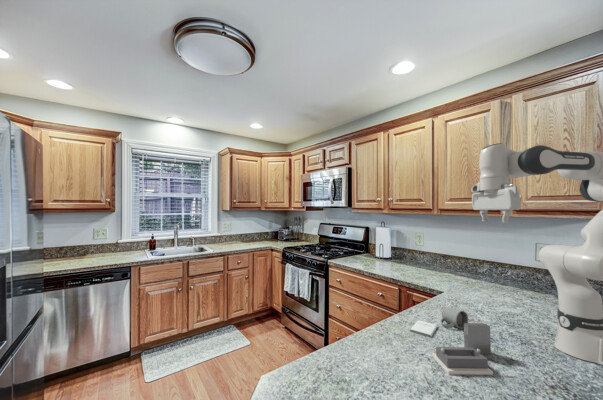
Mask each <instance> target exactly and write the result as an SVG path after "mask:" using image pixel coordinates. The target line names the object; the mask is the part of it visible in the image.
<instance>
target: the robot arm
mask: <svg viewBox="0 0 603 400" xmlns="http://www.w3.org/2000/svg"><path fill="white" fill-rule="evenodd" d="M478 163H479V166H478V168H479V171H480V175H479V182H477V183H476V184H475V185H473V186H472V187H471V193H472V194H471V206H472V209H473V210H474V211H479V214H480V216H481V221H482V222H483V223H489V222H490V217H489V216H488V211H501V213H502V214H503V215H502V217H500V223H501V224H502V223H503V224H506V223H507V224H508V223H509V219H510V216H511V215H512V211H519V210H520V209H521V207H522V203H521V201H522V200H521V195H520V192H519V190H518V186H517V185H516V184H514V183H509V179H518V178H519V179H520V178H525V177H531V176H537V175H538V176H539V175H546V174H549V173H552V172H553V171H557V173H558V175H559V176H560V177H561V178H564V179H566V180H573V181H581V182H580V183H579V193H580V195H581V197H583V199H584V200H586V201H590V202H595V203H596V202H597V203H601V202H603V151H595V150H594V151H593V150H581V151H566V150H565V151H563V150H557V149H554V148H552V147H550V146H546V145H542V144H540V145H539V144H538V145H534V146H531V147H529V148H527V149H526V148H525V149H524V150H520V151H515V150H512V149H511V148H510V147H508V146H507V145H506V143H503V142H499V143H498V142H497V143H494V144H491V145H490V144H489V145H487V146H484V147H483V148H482V149H481V151H480V153H479V162H478ZM580 236H581V238H582V239H583V241H584V243H583V244H581V245H579V246H575V245H567V244H562V243H561V244H549V245H544V246H543V247H541V249H540V250H539V252H538V258H539V261H540V263H541V265H543V266H544V267H545V268H546V269H547V270H548V272H549V273H550V275H551V277H552V279H553V281H554V283H555V286H556V290H557V299H558V308H557V311H556V316H557V319H558V321H557V326H556V336H555V337H554V347H555V348H556V349H557V350H559V351H560V352H562V353H564V354H567V355H568V356H571V357H574V358H576V359H580V360H583V361H586V362H591V363H595V364H599V365H601V366H603V299H602V296H601V294H600V292H598V291H597V290H596V289H595V288H594V287H592V285H591V284H590V283H589V281H588V279H589V280H592V281H601V282H603V209H601V210H600V211H598V213H596V214H595V215H594V217H593V218H591V219H590V220H589V222H588V223H586V224H585V226H583V228H581V231H580Z"/></svg>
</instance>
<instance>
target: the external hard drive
mask: <svg viewBox="0 0 603 400" xmlns="http://www.w3.org/2000/svg"><path fill="white" fill-rule="evenodd" d="M437 329H438V325H437V324H435V323H432V322H428V321H423V320H420V319H418V320H417V321H416V322H415V324H414V325H412V327H411V328H410V330H409V332H411V333H414V334H417V335H421V336H424V337H427V338H432V337H433V335H434V334H435V332H436V330H437Z"/></svg>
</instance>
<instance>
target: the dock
mask: <svg viewBox="0 0 603 400" xmlns="http://www.w3.org/2000/svg"><path fill="white" fill-rule="evenodd" d="M432 357H433V358H434V360H435V361H436V362H437V363H438V364H439V365H440V366H441V367H442V368H443V370H444V371H445V372H446V373H447V374H448V375H472V376H474V375H477V376H478V375H479V376H481V375H482V376H483V375H484V376H494V372H493V370H492V369H490V368H489V359H488V358H487V357H486V356H484V354H481V353H480V349H477V350H476V349H474V348H471V347H463V346H460V347H458V346H455V347H454V346H453V347H452V346H435V353H434V352H432Z"/></svg>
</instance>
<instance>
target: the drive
mask: <svg viewBox="0 0 603 400" xmlns="http://www.w3.org/2000/svg"><path fill="white" fill-rule="evenodd" d="M463 340H464V341H463V343H464V347H471V348H474V349H476V350H477V349H480V353H481V354H482V355H492V351H491V350H492V347H491V346H492V345H491V341H492V340H491V325H489V324H487V323H480V322H479V323H478V322H468V323H464V328H463Z"/></svg>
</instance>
